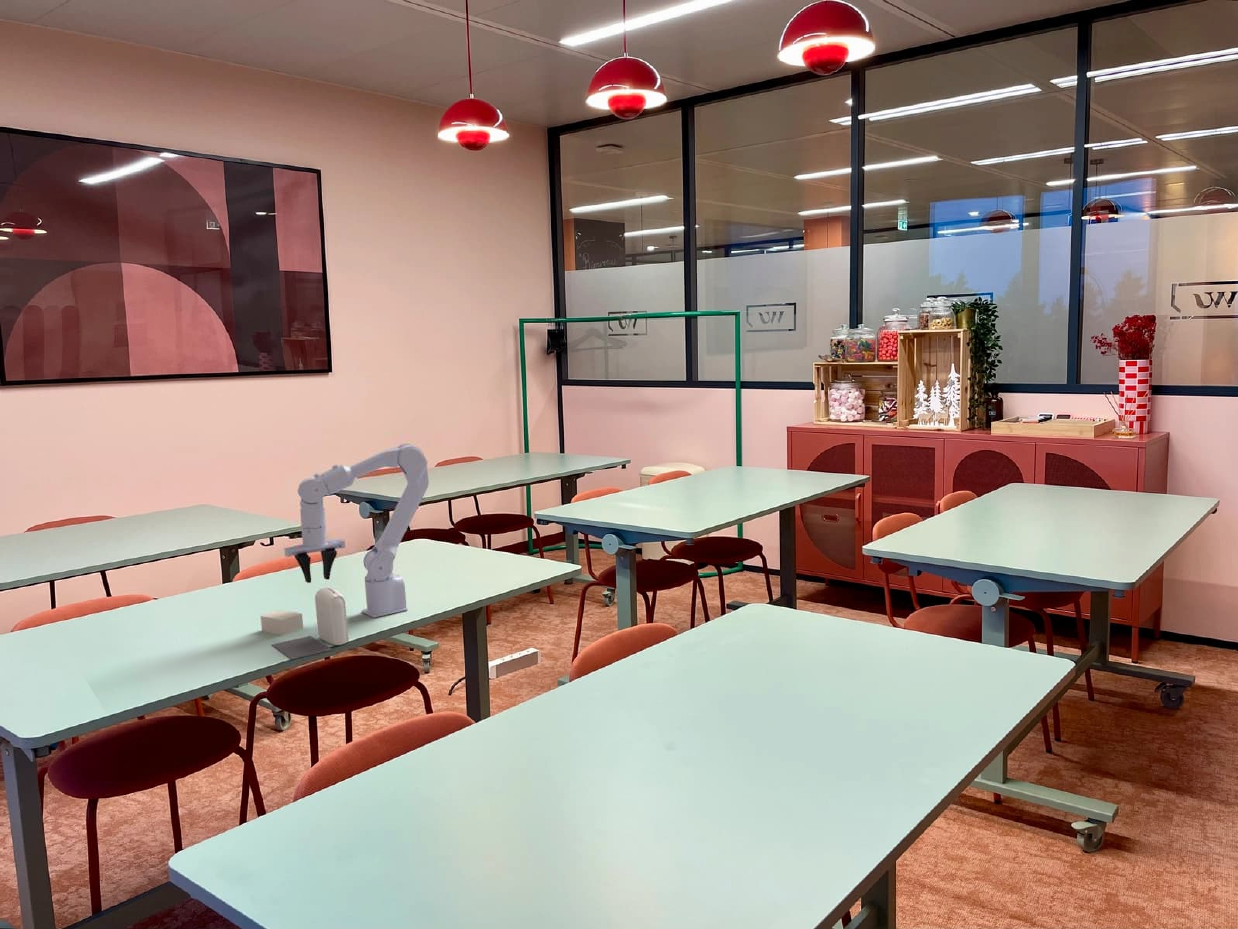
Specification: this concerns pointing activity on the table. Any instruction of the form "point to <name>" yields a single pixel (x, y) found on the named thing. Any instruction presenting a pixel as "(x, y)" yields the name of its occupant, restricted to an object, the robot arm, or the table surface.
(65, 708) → the table surface
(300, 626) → the card box
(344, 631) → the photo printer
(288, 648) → the mat
